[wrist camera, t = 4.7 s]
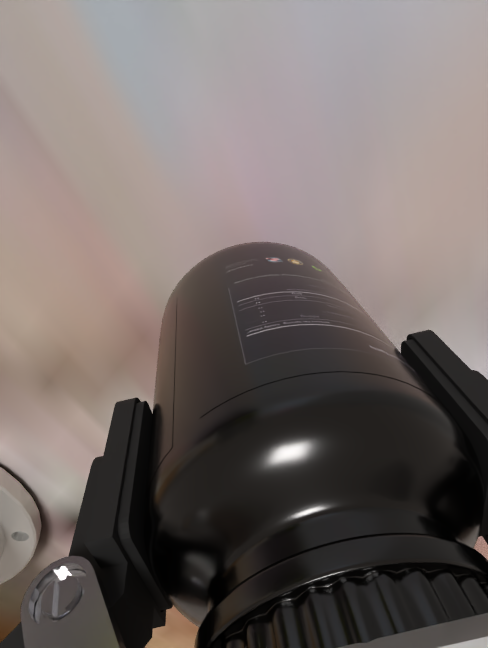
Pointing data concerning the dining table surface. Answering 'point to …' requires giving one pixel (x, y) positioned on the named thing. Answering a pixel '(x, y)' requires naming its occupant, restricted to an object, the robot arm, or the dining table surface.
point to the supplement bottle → (302, 465)
